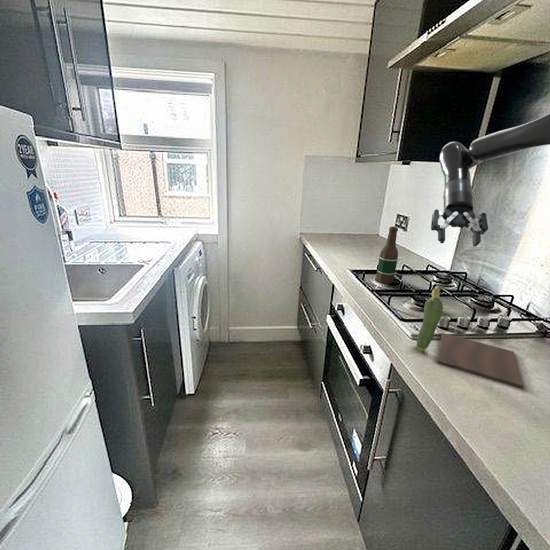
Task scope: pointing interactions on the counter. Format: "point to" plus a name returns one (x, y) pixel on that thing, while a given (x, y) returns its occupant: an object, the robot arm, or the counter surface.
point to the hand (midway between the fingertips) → (459, 243)
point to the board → (480, 359)
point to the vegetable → (430, 320)
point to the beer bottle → (388, 259)
